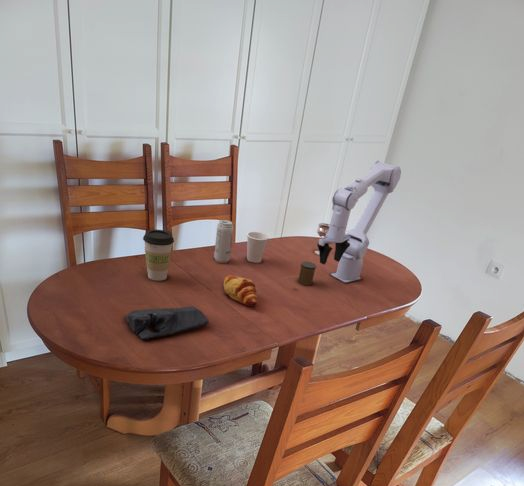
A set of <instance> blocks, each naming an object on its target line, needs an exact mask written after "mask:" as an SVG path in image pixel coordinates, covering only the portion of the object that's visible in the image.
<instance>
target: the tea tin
mask: <svg viewBox="0 0 524 486" xmlns="http://www.w3.org/2000/svg"><path fill="white" fill-rule="evenodd" d="M316 269H317V264H316V263H314V262H311V261H302V262H301V264H300V271H299V275H298V280H297V282H298V283H299V284H300V285H303V286H311V285H312V284H313V281H314V277H315V271H316Z"/></svg>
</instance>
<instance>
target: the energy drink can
mask: <svg viewBox="0 0 524 486" xmlns="http://www.w3.org/2000/svg"><path fill="white" fill-rule="evenodd" d="M233 235H234V225H233V222H232V220H228V219H220V220H219V221H218V224H217V225H216V235H215V243H214V244H215V245H214V255H213V258H214V259H215V260H214V261H216V262H217V263H220V264H227V263H228V262H229V261H230V259H231V252H232V245H233Z"/></svg>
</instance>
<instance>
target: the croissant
mask: <svg viewBox="0 0 524 486" xmlns="http://www.w3.org/2000/svg"><path fill="white" fill-rule="evenodd" d="M223 289H224V294H225V295H227V296H229V297H230V299H232V300H233V301H236V302H239V303H241V304H242V305H244V306H247V307H255V306H257V305H258V296H257V289H256V284H255V283H254V282H253V280H251V279H248V278H245V277H240V276H237V275H232V274H229V275H227V276H225V277H224V280H223Z"/></svg>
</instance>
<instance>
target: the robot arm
mask: <svg viewBox="0 0 524 486" xmlns="http://www.w3.org/2000/svg"><path fill="white" fill-rule="evenodd" d="M401 174H402V169H401V166H396V165H393V164H391V163H390V164H389V163H386V162H383V161H380V160H376V161H374V162H373V163H372V164H371V166H370V169H369V171H368V172H367V173H366V174H365V175H364V176H363V177H362V178H358V177H357V178H356V179H354V180H353V181H352V182H350V183H349V184H348V185H346V186H345V187H344V188H342V187H341V188H338V189H336V190H335V192H334V193H333V196H332V200H331V201H332V207H331V210H332V214H331V219H330V227H329V232H328V234H326V236H325V237H323V238H322V237H320V238H319V239H318V242H317V243H316V245H317V246H316V247H317V248H318V251H319V254H320V255H319V254H318V255H319V263H320V264H322V265H326V264H327V262H328V258H329V255H330V254H331V252H332V250H333V247H332V246H330V245H331V244H335V247H334V249H335V250H334V256H333V260H334V261H336V262H338V264H337V268H336V272H332V273H330V275H331V276H332V277H334V278H336V279H338V280H340V281H342V282H343V283H345V284H346V283H351V282H355V281H359V280H361V279H362V277H360V276H361V273H362V268H363V265H364V259H363V258H364V257H365V255H366V254H367V251H368V247H369V245H370V239H369V237H368V235H367V234H368V232H369V231H370V229H371V227H372V225H373V223H374V221H375V220H376V217H377V215H378V214H379V212H380V210H381V208H382V206H383V204H384V203H385V201H386V199H387V197H388V196H389V194H391V193H393V192H394V190H395V189H396V188H397V185H398V183H399V181H400V180H401ZM369 187H372V188H373V189H374V190H373V193H372V195H371V196H370V199H369V200H368V202H367V204H366V206H365V208H364V210H363V211H362V213H361V215H360V217H359V219H358V221H357V223H356V224H355V226H354V228H352V229H349V230H347V227H348V223H349V219H350V214H351V210H352V209H354V207H355V206H356V204H357V203H358V201H359V199H360V198H362V197H363V196H364V195H365V194H366V193H367V192H368V189H369Z"/></svg>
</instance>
